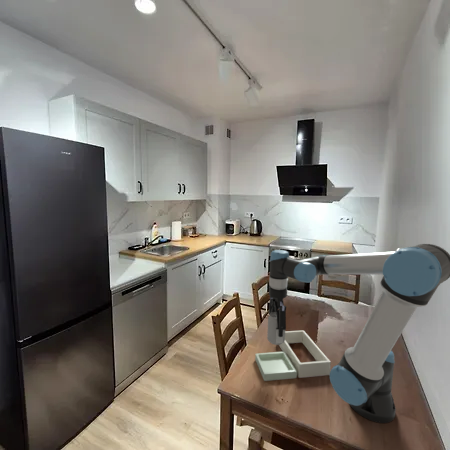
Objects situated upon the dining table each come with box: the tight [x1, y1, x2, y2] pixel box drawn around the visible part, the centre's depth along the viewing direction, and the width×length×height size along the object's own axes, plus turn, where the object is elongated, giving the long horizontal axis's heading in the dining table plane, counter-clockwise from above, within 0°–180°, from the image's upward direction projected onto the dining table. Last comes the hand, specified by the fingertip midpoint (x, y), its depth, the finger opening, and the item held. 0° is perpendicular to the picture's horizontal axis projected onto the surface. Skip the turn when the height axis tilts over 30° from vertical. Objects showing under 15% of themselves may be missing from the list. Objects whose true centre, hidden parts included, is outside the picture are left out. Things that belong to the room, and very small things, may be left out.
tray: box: [254, 351, 298, 382], centre depth 114 cm, size 14×14×3 cm
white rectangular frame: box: [278, 330, 332, 378], centre depth 122 cm, size 26×14×6 cm, turn 8°
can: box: [266, 312, 286, 346], centre depth 112 cm, size 8×8×12 cm
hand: (276, 337), depth 113 cm, fingers closed on can, 7 cm apart
